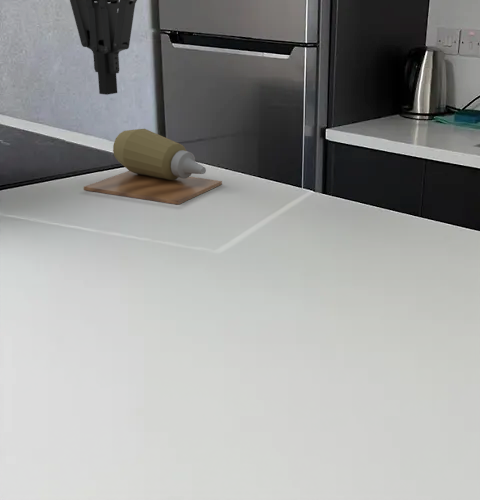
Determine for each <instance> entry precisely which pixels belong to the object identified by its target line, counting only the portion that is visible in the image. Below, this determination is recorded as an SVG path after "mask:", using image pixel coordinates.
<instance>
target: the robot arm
mask: <svg viewBox="0 0 480 500" xmlns="http://www.w3.org/2000/svg"><path fill="white" fill-rule="evenodd" d="M137 2H138V0H69V3H70V6H71V10H72V12H73V13H72V14H73V17H74V22H75V25H76V29H77V32H78V36H79V40H80V44H81V46H82V48H87V49H89V50H91V51H92V55H93V69H94V72H95V73H97V79H98V81H97V82H98V94H99V95H107V96H108V95H113V94H114V95H115V94H118V80H117V74H119V73H120V57H119V56H120V55H119V54H120V53H121V52H122V51H124V50H125V51H126V50H128V49H129V48H130V44H131V35H132V30H133V29H132V28H133V22H134V16H135V8H136V3H137Z"/></svg>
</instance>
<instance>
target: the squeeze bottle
mask: <svg viewBox="0 0 480 500" xmlns="http://www.w3.org/2000/svg"><path fill="white" fill-rule="evenodd" d="M112 146H113V147H112V152H113V156H114V158H115V160H116V161H117V162H118V163H120V165H122V166H123V167H124V168H125V169H127V171H131V172H133V173H137V174H142V175H147V176H152V177H157V178H162V179H168V180H174V179H177V178H178V177H180V178H183V179H184V178H188V177H191V175H192V174H193V175H204V174H206V171H207V168H206V167H205V166H203V165H202V164H200V163H198V162H197V161H196V157H195V155H194V153H192V152H190V151H187V149H186V147H185V146H184V145H183V144H181V143H179V142H177V141H174V140H172V139H170V138H167V137H165V136H163V135H160V134H158V133H156V132H153V131H152V130H149V129H146V128H138V129H137V128H136V129H129V130H123V131H122V132H119V133H118V135H117V136H116V137H115V139H114V142H113V145H112Z"/></svg>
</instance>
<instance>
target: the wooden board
mask: <svg viewBox="0 0 480 500" xmlns="http://www.w3.org/2000/svg"><path fill="white" fill-rule="evenodd" d="M221 185H223V180H219V179H218V180H217V179H210V178H205V177H204V178H203V177H195V176H189V177H188V178H184V179H183V178H180V177H178V178H177V179H174V180H168V179H162V178H157V177H152V176H147V175H142V174H137V173H133V172H131V171H129V170H127V171H124V172H122V173H119V174H115V175H113V176H110V177H108V178H105V179H102V180H99V181H96V182H93V183H90V184H87V185H84V186H83V191H88V192H95V193H101V194H108V195H113V196H121V197H127V198H134V199H140V200H146V201H153V202H159V203H166V204H173V205H180V204H181V205H182V204H183V203H185V202H187V201H189V200H191V199H194V198H195V197H198V196H200V195H202V194H205V193H206V192H209V191H210V190H213V189H215V188H217V187H219V186H221Z"/></svg>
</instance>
